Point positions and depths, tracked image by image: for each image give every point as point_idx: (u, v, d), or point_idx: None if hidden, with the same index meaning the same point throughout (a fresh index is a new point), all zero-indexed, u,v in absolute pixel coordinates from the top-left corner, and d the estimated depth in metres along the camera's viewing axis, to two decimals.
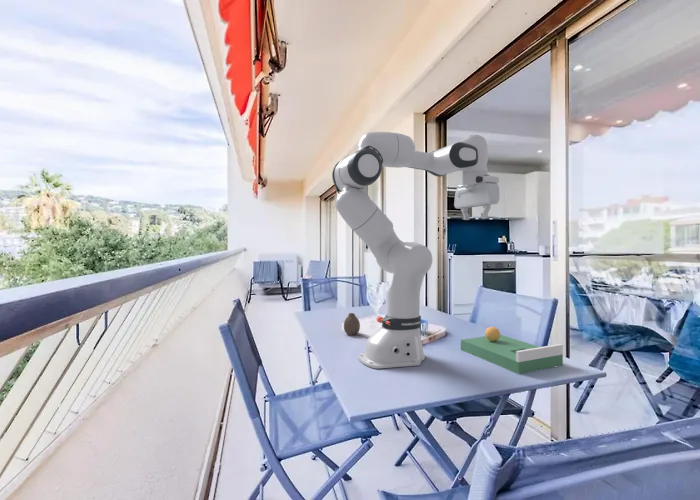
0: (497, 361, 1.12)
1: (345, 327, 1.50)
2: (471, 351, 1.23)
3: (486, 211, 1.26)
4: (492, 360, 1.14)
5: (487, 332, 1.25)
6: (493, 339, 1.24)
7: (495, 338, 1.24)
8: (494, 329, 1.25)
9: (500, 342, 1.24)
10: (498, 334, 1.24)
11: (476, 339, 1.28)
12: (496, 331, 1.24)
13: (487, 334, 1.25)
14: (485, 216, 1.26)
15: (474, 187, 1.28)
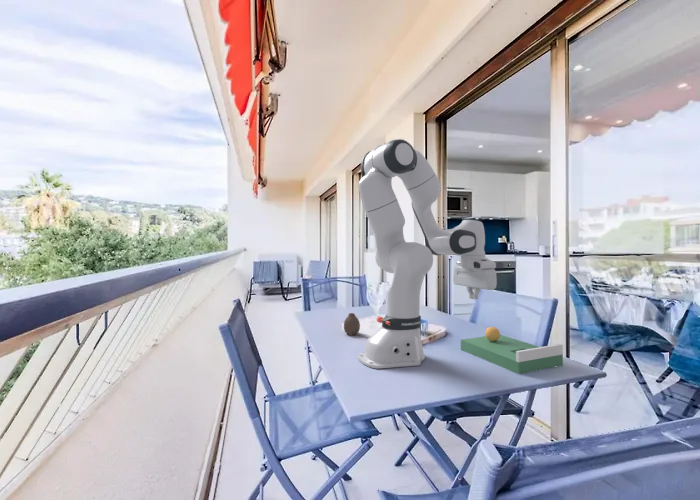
0: (497, 361, 1.12)
1: (345, 327, 1.50)
2: (471, 351, 1.23)
3: (476, 293, 1.33)
4: (492, 360, 1.14)
5: (487, 332, 1.25)
6: (493, 339, 1.24)
7: (495, 338, 1.24)
8: (494, 329, 1.25)
9: (500, 342, 1.24)
10: (498, 334, 1.24)
11: (476, 339, 1.28)
12: (496, 331, 1.24)
13: (487, 334, 1.25)
14: (475, 298, 1.34)
15: (472, 270, 1.32)
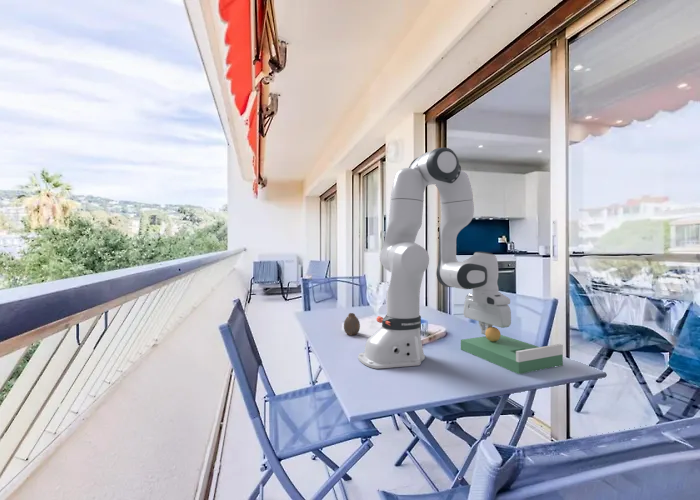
0: (497, 361, 1.12)
1: (345, 327, 1.50)
2: (471, 351, 1.23)
3: None
4: (492, 360, 1.14)
5: (487, 332, 1.25)
6: (493, 339, 1.24)
7: (495, 338, 1.24)
8: (495, 329, 1.24)
9: (500, 342, 1.24)
10: (498, 334, 1.24)
11: (476, 339, 1.28)
12: (496, 331, 1.24)
13: (487, 334, 1.25)
14: None
15: (485, 305, 1.26)
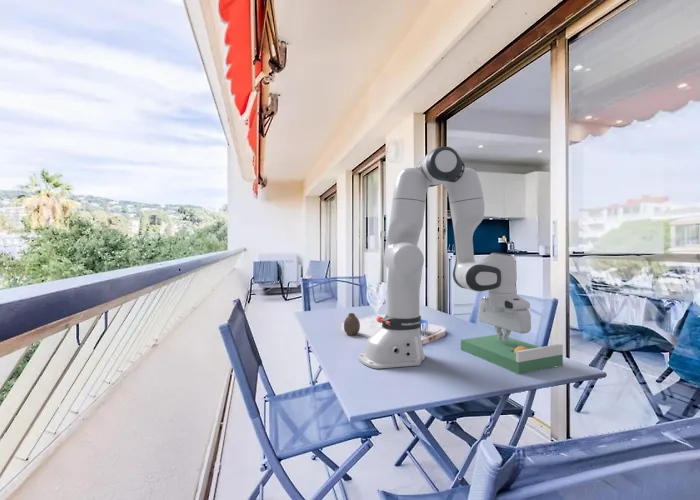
0: (497, 361, 1.12)
1: (345, 327, 1.50)
2: (471, 351, 1.23)
3: (506, 335, 1.20)
4: (492, 360, 1.14)
5: None
6: None
7: (518, 350, 1.13)
8: None
9: (500, 342, 1.24)
10: (514, 351, 1.14)
11: (476, 339, 1.28)
12: None
13: None
14: (505, 339, 1.20)
15: (502, 309, 1.19)
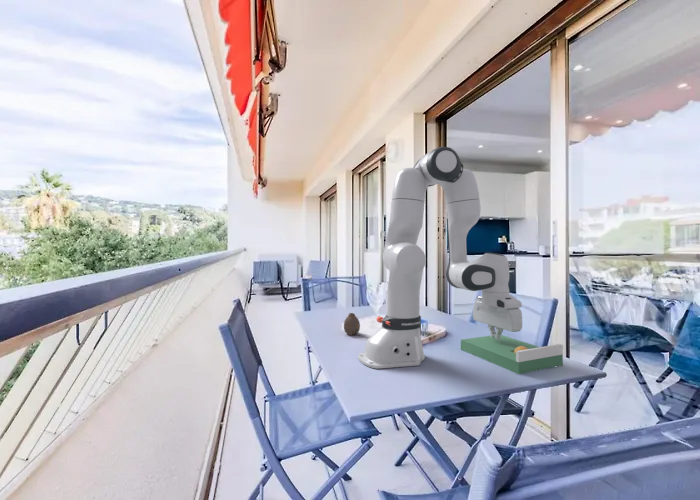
0: (497, 361, 1.12)
1: (345, 327, 1.50)
2: (471, 351, 1.23)
3: (499, 333, 1.23)
4: (492, 360, 1.14)
5: None
6: None
7: (518, 350, 1.13)
8: None
9: (500, 342, 1.24)
10: (514, 351, 1.14)
11: (476, 339, 1.28)
12: None
13: None
14: (498, 338, 1.23)
15: (495, 308, 1.21)
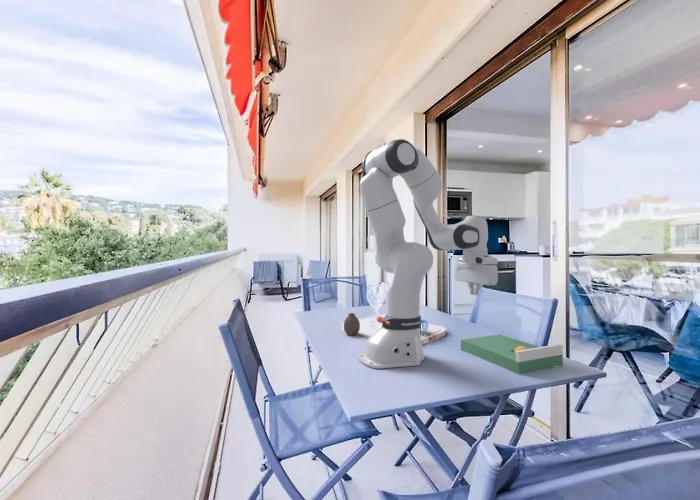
0: (497, 361, 1.12)
1: (345, 327, 1.50)
2: (471, 351, 1.23)
3: (477, 289, 1.34)
4: (492, 360, 1.14)
5: None
6: None
7: (518, 350, 1.12)
8: None
9: (500, 342, 1.24)
10: (514, 351, 1.14)
11: (476, 339, 1.28)
12: None
13: None
14: (476, 293, 1.35)
15: (474, 266, 1.33)
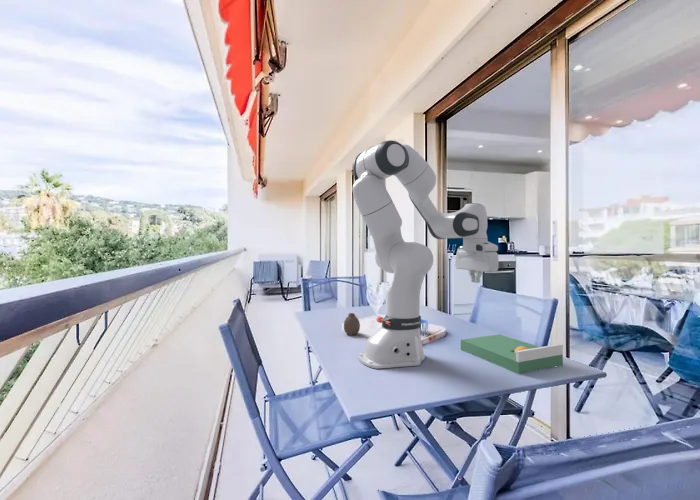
0: (497, 361, 1.12)
1: (345, 327, 1.50)
2: (471, 351, 1.23)
3: (478, 276, 1.35)
4: (492, 360, 1.14)
5: None
6: None
7: (518, 350, 1.12)
8: None
9: (500, 342, 1.24)
10: (514, 351, 1.14)
11: (476, 339, 1.28)
12: None
13: None
14: (477, 281, 1.35)
15: (474, 253, 1.33)
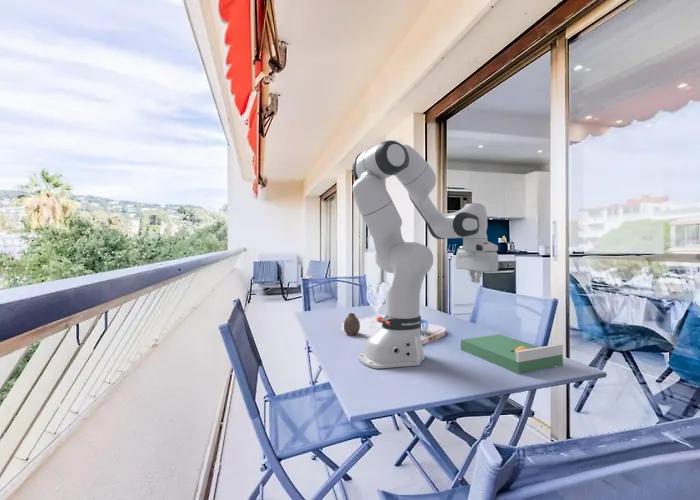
0: (497, 361, 1.12)
1: (345, 327, 1.50)
2: (471, 351, 1.23)
3: (478, 276, 1.35)
4: (492, 360, 1.14)
5: None
6: None
7: (519, 350, 1.12)
8: None
9: (500, 342, 1.24)
10: (515, 351, 1.14)
11: (476, 339, 1.28)
12: None
13: None
14: (477, 281, 1.35)
15: (474, 253, 1.33)
